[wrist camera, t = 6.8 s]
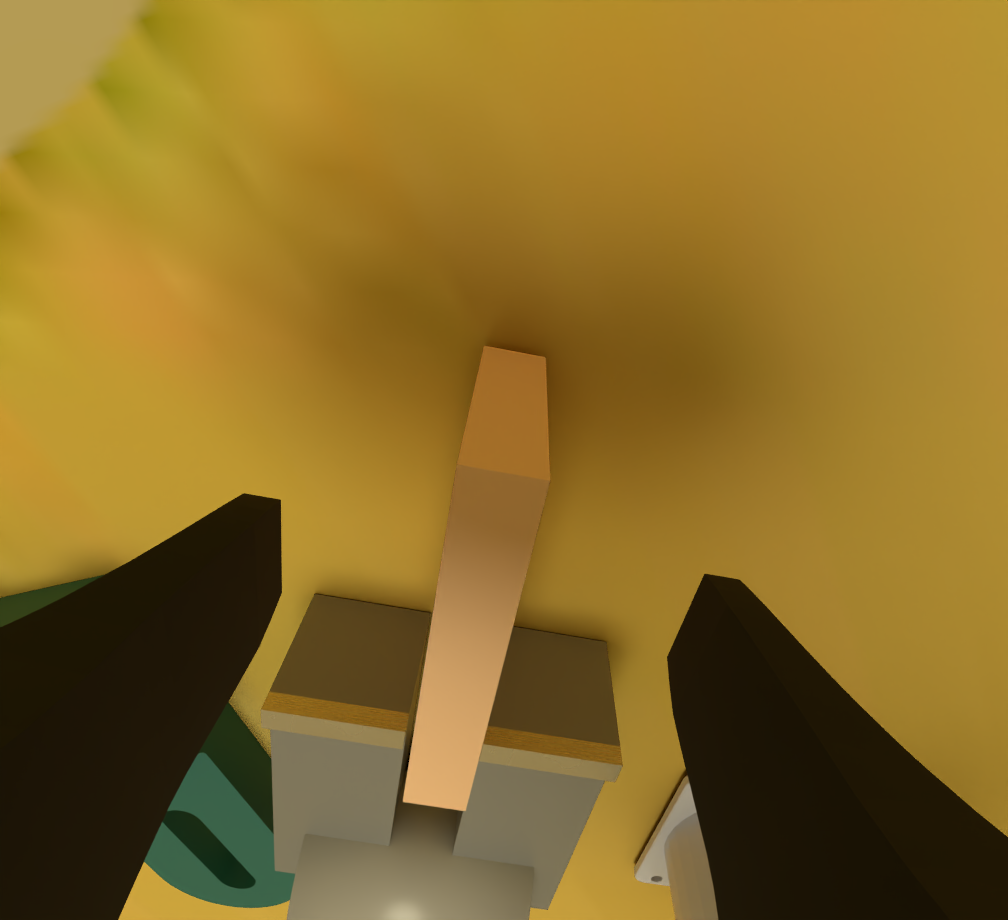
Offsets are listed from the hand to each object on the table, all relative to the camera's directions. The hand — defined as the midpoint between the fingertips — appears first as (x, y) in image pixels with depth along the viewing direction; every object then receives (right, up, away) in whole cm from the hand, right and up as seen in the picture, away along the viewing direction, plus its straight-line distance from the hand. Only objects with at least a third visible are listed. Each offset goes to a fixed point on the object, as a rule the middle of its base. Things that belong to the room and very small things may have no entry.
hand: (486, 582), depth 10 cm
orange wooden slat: (0, +1, +7) cm, 7 cm away
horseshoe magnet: (-2, -8, +13) cm, 16 cm away
